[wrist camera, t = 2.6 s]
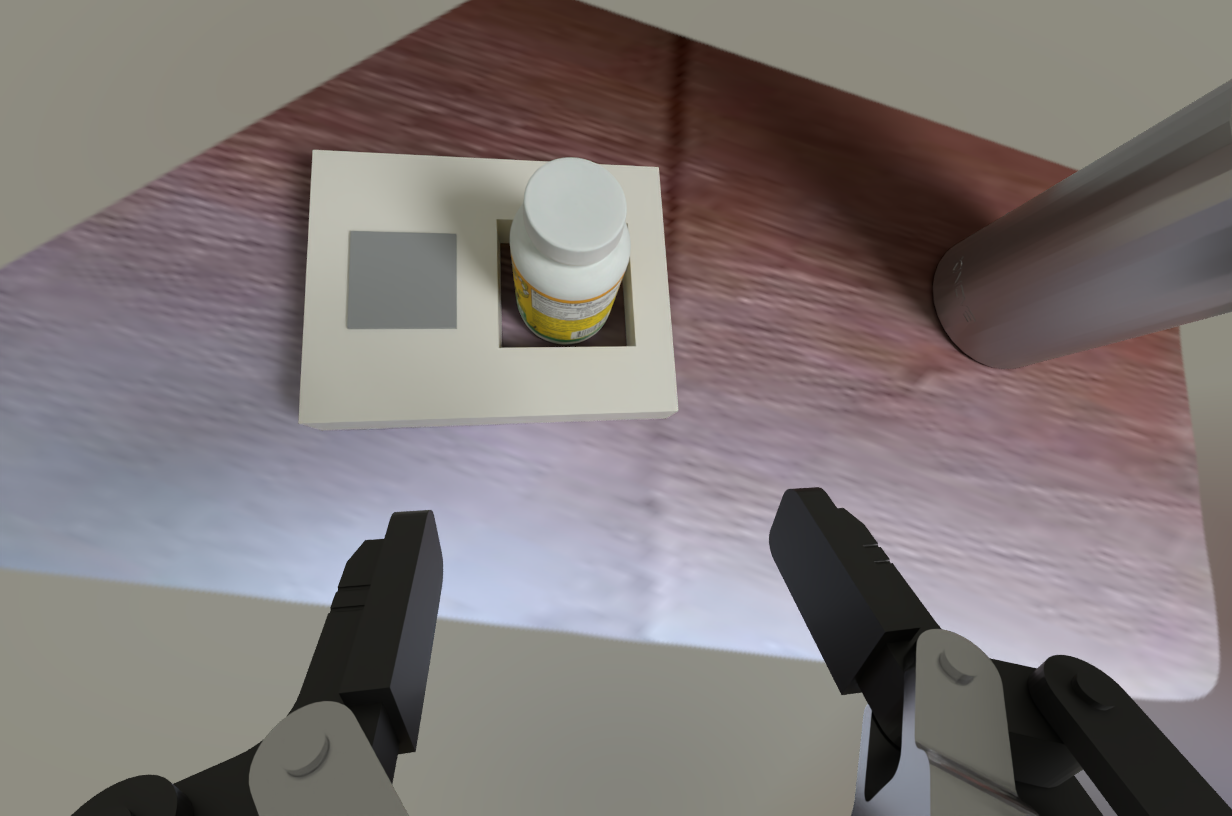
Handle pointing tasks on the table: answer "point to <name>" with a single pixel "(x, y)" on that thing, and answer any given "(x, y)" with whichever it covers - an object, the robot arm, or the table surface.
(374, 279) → the socket dock
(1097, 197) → the robot arm
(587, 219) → the supplement bottle
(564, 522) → the table surface
